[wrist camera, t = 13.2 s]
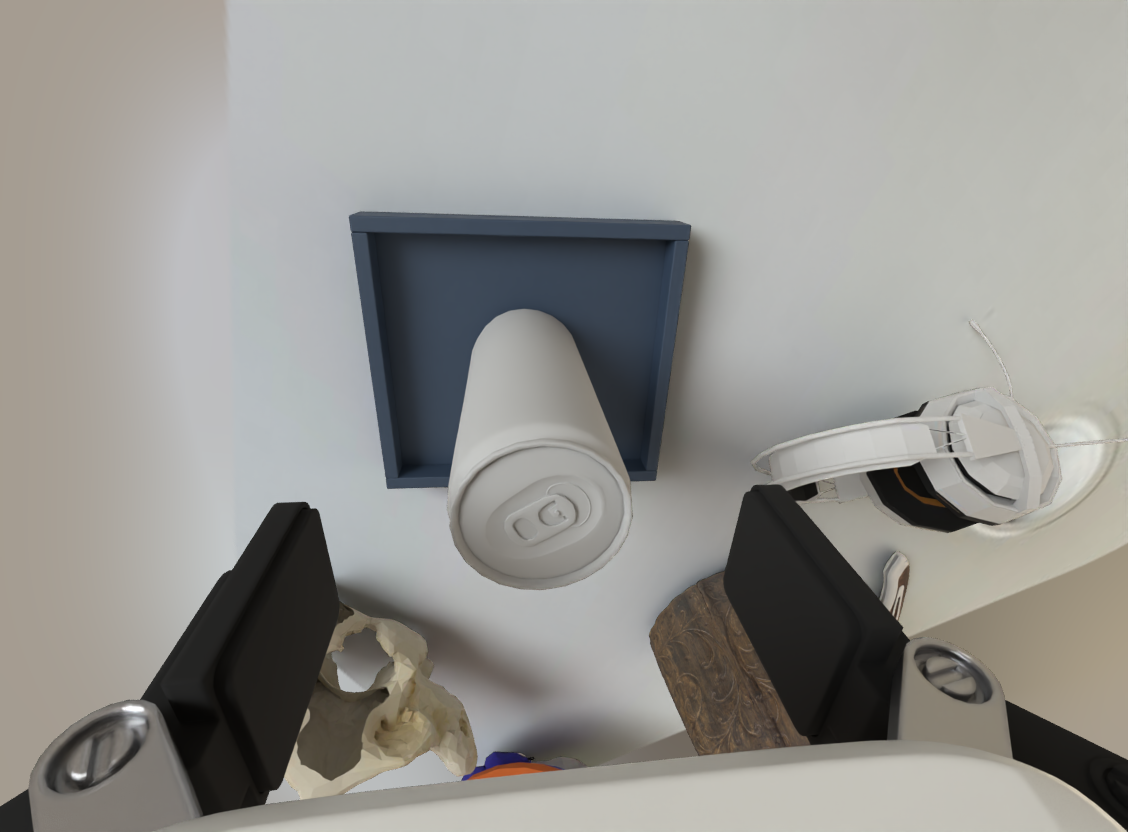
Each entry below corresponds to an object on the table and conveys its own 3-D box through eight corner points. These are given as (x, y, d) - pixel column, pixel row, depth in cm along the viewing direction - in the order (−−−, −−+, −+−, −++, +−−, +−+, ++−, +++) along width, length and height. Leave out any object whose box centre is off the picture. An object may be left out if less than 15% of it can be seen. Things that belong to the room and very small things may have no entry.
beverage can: (594, 373, 24) (668, 542, 13) (507, 421, 25) (510, 620, 14) (543, 284, 22) (582, 400, 11) (449, 339, 22) (401, 499, 12)
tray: (359, 211, 20) (348, 215, 19) (678, 220, 22) (691, 225, 20) (393, 470, 26) (387, 489, 24) (647, 463, 27) (655, 480, 26)
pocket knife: (896, 563, 31) (921, 553, 31) (883, 553, 32) (908, 544, 32) (861, 701, 37) (882, 691, 38) (851, 690, 38) (872, 681, 38)
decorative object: (113, 613, 23) (237, 619, 32) (117, 965, 18) (260, 855, 27) (393, 521, 25) (434, 551, 34) (459, 817, 20) (486, 760, 30)
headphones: (1046, 481, 30) (720, 495, 29) (1125, 315, 26) (747, 322, 25) (1218, 579, 23) (789, 604, 21) (1366, 368, 19) (844, 383, 17)
